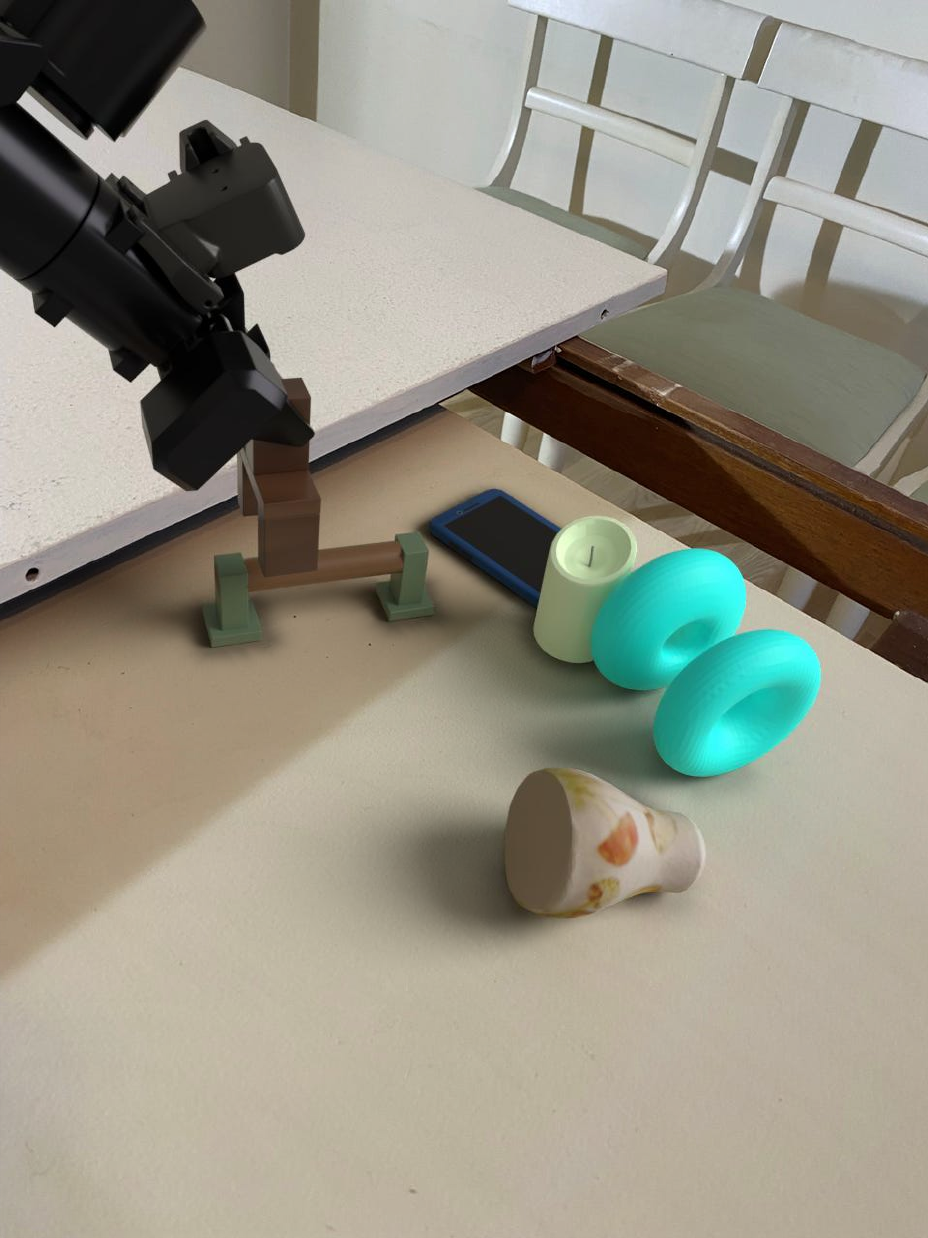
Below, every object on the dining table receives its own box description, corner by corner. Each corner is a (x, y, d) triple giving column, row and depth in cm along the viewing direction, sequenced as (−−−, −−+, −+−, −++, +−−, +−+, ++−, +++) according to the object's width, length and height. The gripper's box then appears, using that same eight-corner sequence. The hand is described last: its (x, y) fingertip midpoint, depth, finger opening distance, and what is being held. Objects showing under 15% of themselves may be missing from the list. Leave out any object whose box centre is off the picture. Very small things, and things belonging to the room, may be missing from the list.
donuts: (651, 805, 57) (704, 679, 50) (566, 680, 63) (603, 553, 56) (793, 762, 60) (860, 640, 54) (699, 648, 67) (748, 526, 60)
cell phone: (576, 636, 66) (578, 627, 65) (423, 528, 72) (424, 520, 72) (642, 590, 70) (645, 581, 70) (492, 492, 76) (494, 484, 76)
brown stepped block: (317, 571, 57) (324, 424, 51) (263, 578, 56) (264, 428, 50) (287, 495, 62) (290, 352, 56) (237, 501, 61) (234, 355, 55)
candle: (570, 676, 63) (595, 582, 57) (516, 627, 66) (535, 531, 60) (626, 642, 66) (655, 548, 60) (572, 595, 68) (596, 501, 62)
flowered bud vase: (725, 928, 52) (701, 869, 44) (538, 958, 54) (482, 907, 46) (695, 790, 56) (668, 712, 48) (523, 823, 58) (468, 754, 50)
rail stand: (211, 648, 61) (209, 584, 58) (202, 614, 63) (199, 550, 60) (433, 615, 66) (443, 554, 62) (418, 585, 68) (427, 524, 64)
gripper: (229, 170, 36) (479, 421, 47) (151, 19, 48) (363, 246, 59) (20, 387, 38) (304, 575, 49) (-3, 191, 51) (228, 377, 62)
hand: (303, 427), depth 55 cm, fingers closed on brown stepped block, 2 cm apart
